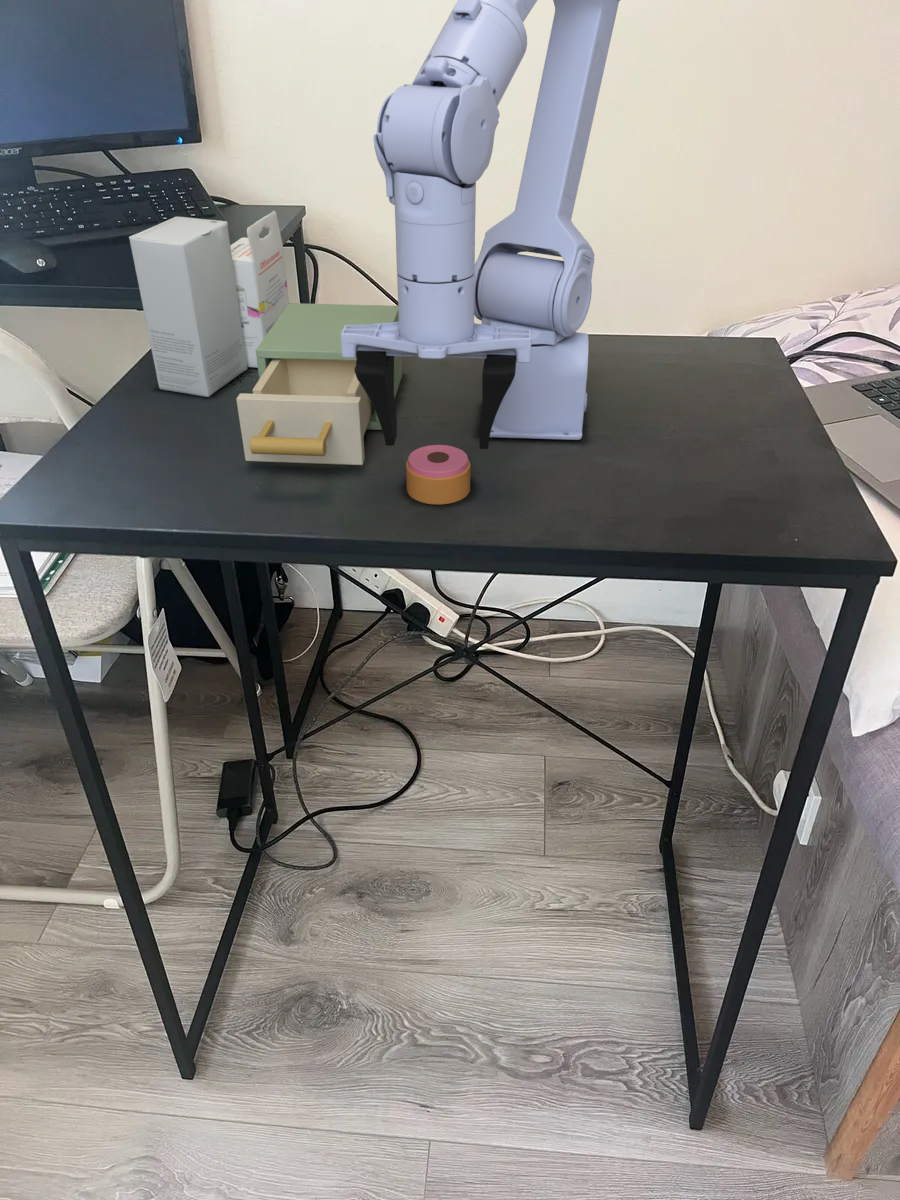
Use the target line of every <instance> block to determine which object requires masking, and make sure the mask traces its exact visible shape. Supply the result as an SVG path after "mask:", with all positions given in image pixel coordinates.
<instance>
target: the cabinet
mask: <svg viewBox="0 0 900 1200" xmlns="http://www.w3.org/2000/svg"><path fill="white" fill-rule="evenodd" d="M391 322H399V314H398V305H385V304H384V305H383V304H381V305H379V304H344V303H343V304H339V303H299V302H297V303H296V302H295V303H294V302H289V304H288V306H287V307H286V308H285V310H284V311H283V312H282V314H281V315H280V317H279V318H278V319H277V321H276V322H275V324H274V325H273V326H272V328H271V329H270V331H269V332H268V333H267V335H266V336H265V338H264V339H263V340H262V342H261V343H260V345H259V346H258V347H257V349H256V357H257V365H258V368H257V372H258V380H259V379H260V378H261V376H262V375H263V373H264V372H265V370H266V368H267V367H268V365H269V364H270V362H271V361H272V359H273V358H283V359H319V360H357V359H356V357H355V358H343V357H342V348H341V332H342V330H343V328H344V326H345V325H368V324H380V323H391ZM402 358H403V356H394V400H395V399H396V397H397V393H398V390H399V387H400V384H401V380H402V378H403V359H402ZM366 430H373V431H377V430H378V431H382V428H381V425H380V422H379V419H378V416H377V414H376V411H375V409H373V412H372V415H371V418H370V420H369V423H368V426H367V428H366Z"/></svg>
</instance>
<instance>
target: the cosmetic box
mask: <svg viewBox="0 0 900 1200" xmlns="http://www.w3.org/2000/svg"><path fill="white" fill-rule="evenodd" d="M128 239H129V244H130V249H131V255H132V259H133V264H134V269H135V274H136V278H137V284H138V288H139V289H138V290H139V294H140V299H141V304H142V310H143V315H144V319H145V320H144V321H145V324H146V330H147V334H148V339H149V345H150V349H151V355H152V359H153V364H154V369H155V375H156V380H157V384H158V389H159V390H162V391H169V392H176V393H181V394H187V395H188V394H189V395H194V396H198V397H199V396H200V397H207V398H209V397H211V396H212V395H214V394H215V393H216V392H218V391H219V390H220V389H222V388H223V387H225V386H226V385H227V384H229V383H230V382H232V381H233V380H234V379H237V377H239V376H240V375H241V374H243V373H244V372H246V371H247V370H248V367H247V363H246V356H245V349H244V342H243V335H242V328H241V320H240V313H239V306H238V298H237V291H236V284H235V276H234V269H233V262H232V254H231V247H230V245H231V241H230V232H229V222H228V220H227V221H226V220H217V219H207V218H206V219H205V218H197V217H187V216H174V217H172V218H169V219H167V220H165V221H162V222H160V223H158V224H156V225H153V226H151V227H149V228H147V229H144V230H142V231H140V232H137V233H134V234H133V235H129V236H128Z"/></svg>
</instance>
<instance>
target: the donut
mask: <svg viewBox="0 0 900 1200" xmlns="http://www.w3.org/2000/svg"><path fill="white" fill-rule="evenodd" d="M405 479H406V480H405V481H406V492H407V494H408V495H409V497H410V498H411V499H412V500H415V501H417V502H420V503H423V504H428V505H435V506H437V505H448V504H453V503H457V502H459V501H462V500H463V499H465V498H467V496H468V495H469V493H470V492H471V461H470V460H469V457H468V454H467V453H466V452H465V451H464V450H462V449H461V448H458V447H456V446H452V445H447V444H431V445H425V446H422V447H418V448H415V450H413V451H411V452H410V454H409V455H408V458H407V460H406V462H405Z"/></svg>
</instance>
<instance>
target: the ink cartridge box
mask: <svg viewBox="0 0 900 1200" xmlns="http://www.w3.org/2000/svg"><path fill="white" fill-rule="evenodd" d="M263 229H264V230H267V229H268V234H267V235H265V236H263V237H262V238H261V237H260V234H261V233H262V232H263V231H264V230H263ZM281 234H282V233H281V229H280V223H279V219H278V213H277V211H276V210H272V212H270V213H269V214H267V215H265V216H263V217H262V218H260V219H258V220H257V221H255V222H254V223H252V224H251V225H250V226H247V228H246V235H247V237H241V238H239V239H237V240H236V241H235V242H233V243H232V244H230V247H231V254H232V262H233V269H234V276H235V284H236V291H237V298H238V306H239V313H240V320H241V328H242V335H243V342H244V349H245V356H246V363H247V368H257V369H258V365H257V357H256V349H257V347H258V346H259V345H260V343H261V342H262V340H263V339H264V338H265V336H266V335H267V333H268V332H269V331H270V329H271V328H272V326H273V325H274V324H275V322H276V321H277V319H278V318H279V317H280V315H281V314H282V312H283V311H284V310H285V308H286V307H287V306H288V304H289V303H290V301H289V300H290V298H289V289H288V279H287V272H286V263H285V262H286V261H285V254H284V245H283V239H282V235H281Z"/></svg>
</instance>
